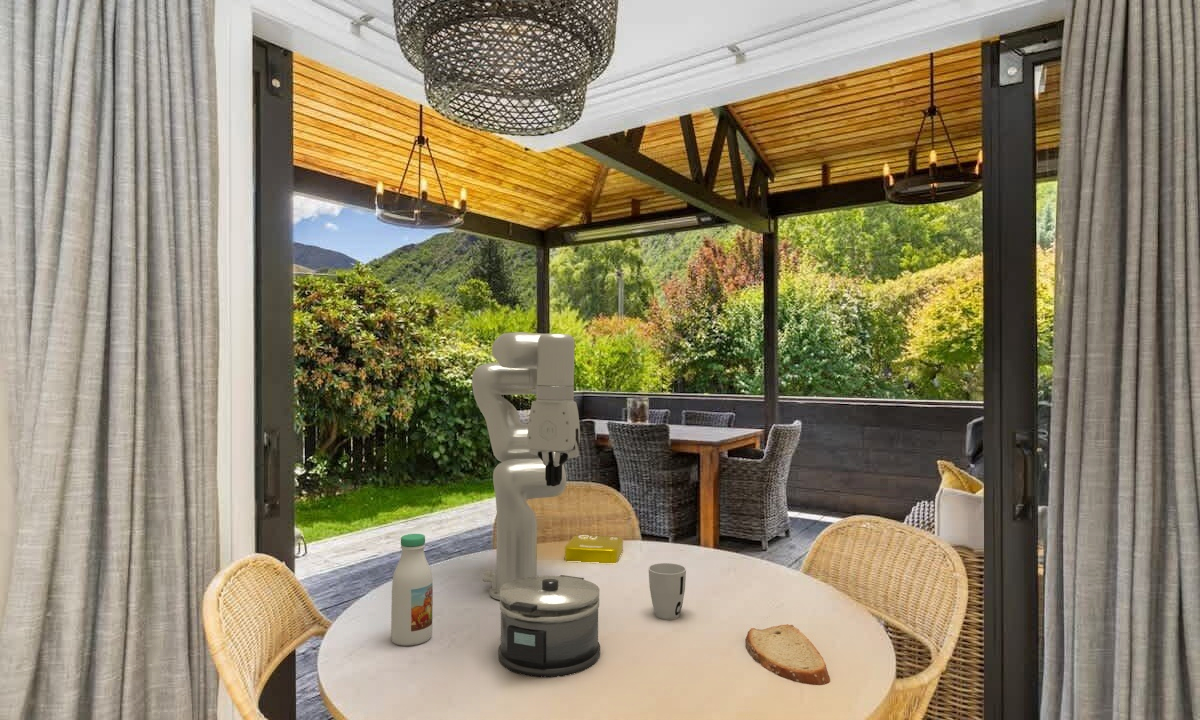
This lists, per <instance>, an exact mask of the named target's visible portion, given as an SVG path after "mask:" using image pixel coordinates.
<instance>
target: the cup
mask: <svg viewBox="0 0 1200 720" xmlns="http://www.w3.org/2000/svg"><path fill="white" fill-rule="evenodd" d="M686 576H687V568H686V567H685V566H684V565H681V564H678V563H672V562H661V563H654V564H651V565H649V566H648V583H649V585H648V586H649V591H650V598H651V605H652V607H653V610H654V614H655V616H656V617H657V618H659V619H661V620H662V619H663V620H675V619H678V618H679V617H680V615H681V611H682V608H683V603H684V597H685V592H686V590H685V589H686V578H687V577H686Z"/></svg>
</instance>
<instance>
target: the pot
mask: <svg viewBox="0 0 1200 720" xmlns="http://www.w3.org/2000/svg"><path fill="white" fill-rule="evenodd" d="M599 609H600V598H599V599H598V600H597V601H596V602H595V603H593V604H591V605H588V606H585V607H581V608H577V609H570V610H560V611H539V610H535V611H534V612H532V613H529V612H523V611H516V610H511V605H509V604H506V603H505V602H503V601H502V600H501V599H500V600H499V610H500V644H499V646H498V650H497V651H498V653H497V656H498V661H499V663H500V664H501V666H502V667H503V668H504V669H506V670H508V671H511V672H513V673H515V674H518V675H521V676H525V677H531V678H558V677H557V676H560V677H566V676H565V675H567V676H570V674H571V675H575V674H578V673H581V672H583V671H585V669H586V670H588V669H590V668H591V667H593V666H594V665H595V664H596V663H597V662H598V661H599V660H600V658H601V644H600V641H599ZM598 659H599V660H598ZM592 665H593V666H592ZM589 667H590V668H589ZM587 668H588V669H587ZM574 673H575V674H574Z"/></svg>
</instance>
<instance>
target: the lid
mask: <svg viewBox="0 0 1200 720" xmlns="http://www.w3.org/2000/svg"><path fill="white" fill-rule="evenodd" d="M500 599H501V600H502V601H503V602H505V603H506V604H509V605H511V610H516V611H523V612H529V613H532V612H534V611H535V610H539V611H560V610H570V609H577V608H581V607H585V606H588V605H591V604H593V603H595V602H596V601H597V600H598V599H599V600H600V587H599V586H598V585H597V584H595V583H594V582H592V581H589V580H586V579H585V578H584V577H580V576H579V577H578V576H572V575H562V574H561V575H538V576H535V577H526V578H521V579H516V580H513V581H510V582H507V583H505V584H504V585H502V586H501V588H500Z"/></svg>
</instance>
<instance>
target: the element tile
mask: <svg viewBox="0 0 1200 720" xmlns="http://www.w3.org/2000/svg"><path fill="white" fill-rule="evenodd" d="M622 551H623V552H624V539H623V538H622V537H620V536H605V535H603V536H600V535H599V536H598V535H588V534H580V535H578V534H577V535H575V536H573V537H572V538H571V539H570V540H569V541H568V542H567V544H566V545H565V546H564V561H565V560H566V561H565V562H567V561H581V562H599V563H616V562H617V561H618V562H619V560H620V558H621V556H622V554H623V552H622ZM621 553H622V554H621ZM620 555H621V556H620ZM619 557H620V558H619ZM618 559H619V560H618ZM618 562H617V563H618ZM617 563H616V564H617Z"/></svg>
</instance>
